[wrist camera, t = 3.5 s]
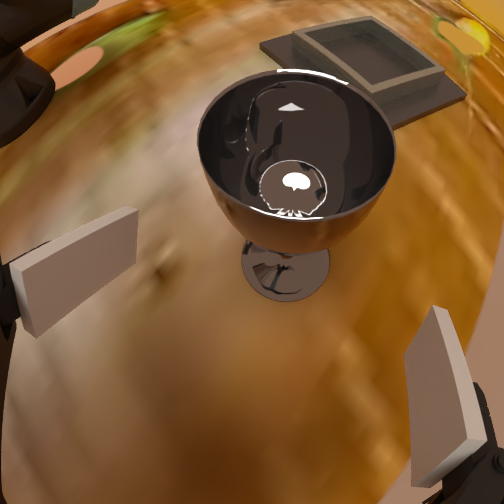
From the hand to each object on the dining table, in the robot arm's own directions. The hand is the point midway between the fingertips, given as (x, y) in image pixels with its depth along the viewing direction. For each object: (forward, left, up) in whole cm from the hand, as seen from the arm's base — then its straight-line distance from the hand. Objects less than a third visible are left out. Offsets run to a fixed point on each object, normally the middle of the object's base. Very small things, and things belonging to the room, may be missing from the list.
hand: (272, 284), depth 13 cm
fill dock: (-20, +27, -12) cm, 35 cm away
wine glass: (-4, +4, -12) cm, 13 cm away
